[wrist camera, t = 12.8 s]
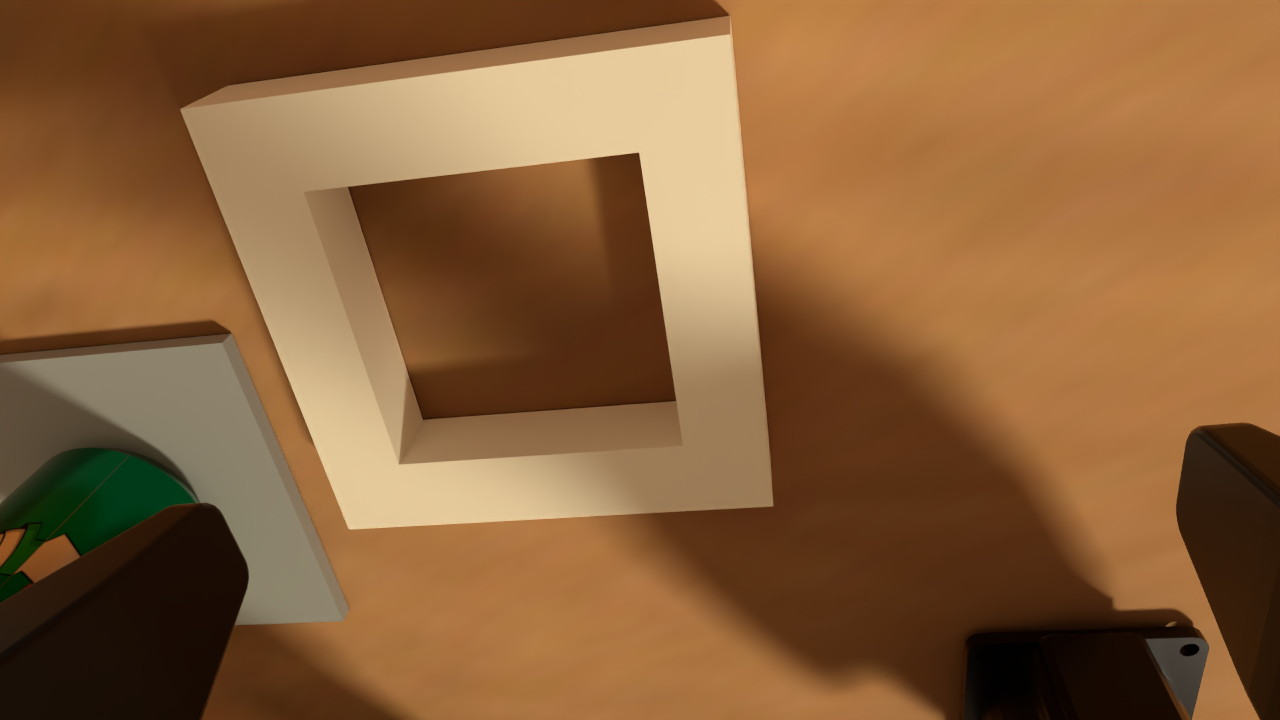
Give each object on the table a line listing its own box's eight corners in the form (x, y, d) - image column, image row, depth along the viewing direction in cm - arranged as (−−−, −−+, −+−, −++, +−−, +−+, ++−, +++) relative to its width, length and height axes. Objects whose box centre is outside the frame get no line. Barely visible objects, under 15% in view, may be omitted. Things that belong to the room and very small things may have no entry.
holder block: (770, 457, 23) (773, 506, 22) (375, 482, 25) (348, 529, 23) (730, 15, 18) (730, 34, 16) (228, 85, 20) (179, 109, 18)
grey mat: (349, 609, 28) (343, 621, 28) (69, 620, 29) (59, 631, 29) (231, 333, 23) (222, 343, 23) (-98, 363, 25) (-112, 373, 24)
